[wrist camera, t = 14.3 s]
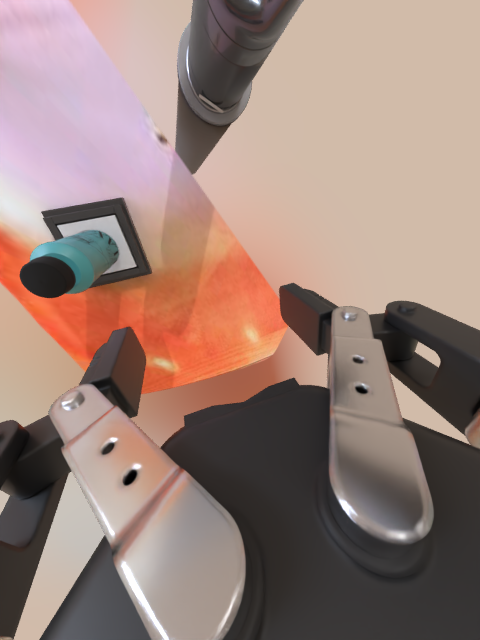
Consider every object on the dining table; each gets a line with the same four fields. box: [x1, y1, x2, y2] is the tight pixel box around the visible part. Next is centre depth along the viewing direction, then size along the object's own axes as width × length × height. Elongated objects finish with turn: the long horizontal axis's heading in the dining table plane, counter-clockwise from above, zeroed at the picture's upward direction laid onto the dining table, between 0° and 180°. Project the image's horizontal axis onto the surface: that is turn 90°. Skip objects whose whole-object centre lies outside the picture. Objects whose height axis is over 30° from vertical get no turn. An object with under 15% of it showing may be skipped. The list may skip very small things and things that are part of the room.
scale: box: [41, 198, 152, 288], centre depth 39 cm, size 14×13×3 cm
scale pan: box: [57, 215, 137, 274], centre depth 38 cm, size 9×9×2 cm
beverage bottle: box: [20, 229, 120, 298], centre depth 29 cm, size 6×7×20 cm
